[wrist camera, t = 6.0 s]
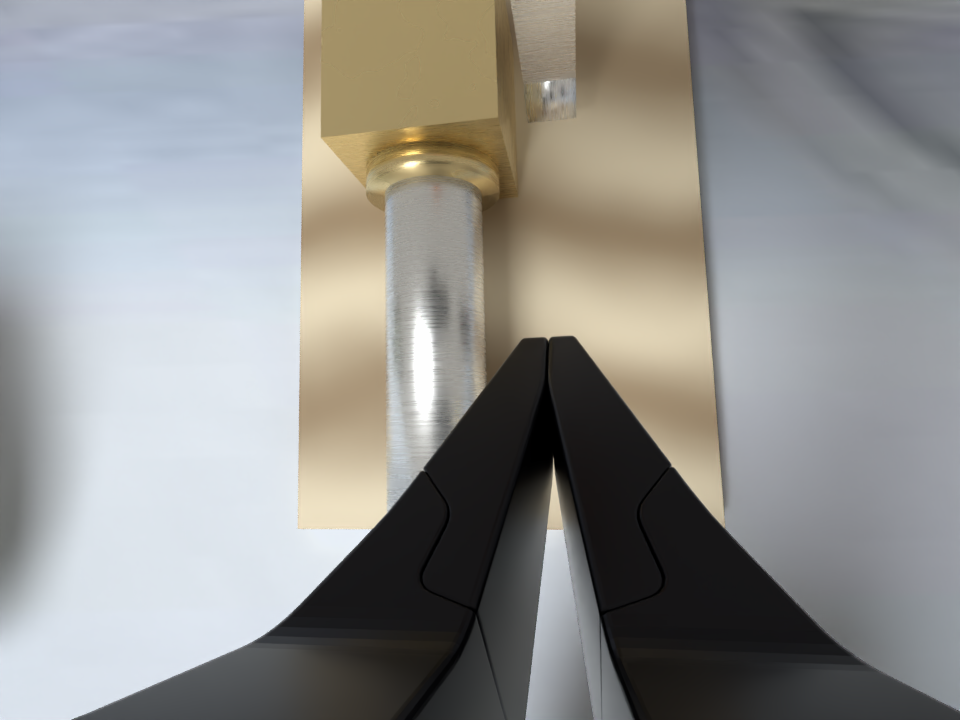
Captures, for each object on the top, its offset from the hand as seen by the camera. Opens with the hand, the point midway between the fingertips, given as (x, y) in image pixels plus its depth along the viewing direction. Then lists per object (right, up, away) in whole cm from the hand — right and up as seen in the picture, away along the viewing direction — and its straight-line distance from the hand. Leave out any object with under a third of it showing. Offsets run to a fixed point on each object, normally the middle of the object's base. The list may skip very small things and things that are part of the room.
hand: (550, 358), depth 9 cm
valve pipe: (-2, +5, +12) cm, 13 cm away
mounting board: (-1, +5, +13) cm, 14 cm away
